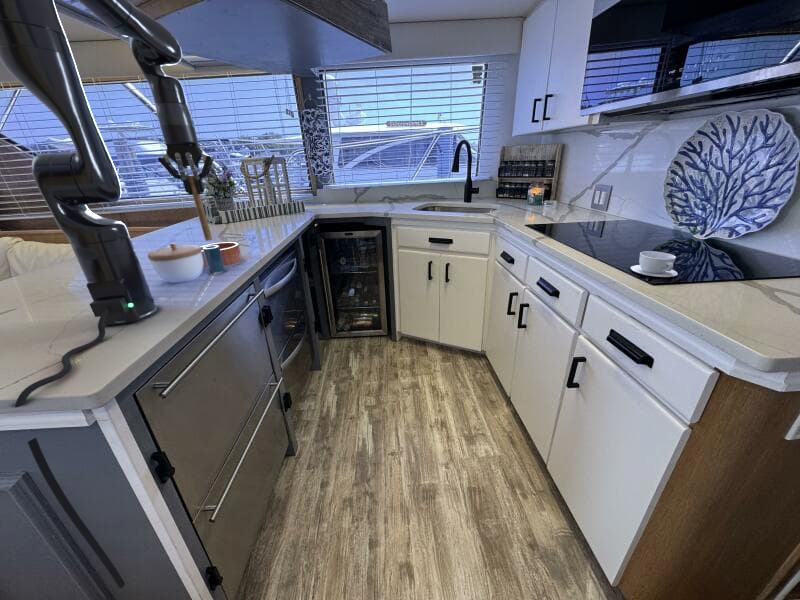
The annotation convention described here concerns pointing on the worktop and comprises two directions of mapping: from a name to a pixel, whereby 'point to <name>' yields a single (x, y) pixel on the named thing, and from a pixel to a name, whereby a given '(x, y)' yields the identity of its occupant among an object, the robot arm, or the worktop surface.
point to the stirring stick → (200, 208)
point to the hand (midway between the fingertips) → (196, 194)
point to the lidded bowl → (177, 263)
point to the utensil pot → (213, 258)
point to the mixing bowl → (226, 253)
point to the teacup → (655, 264)
